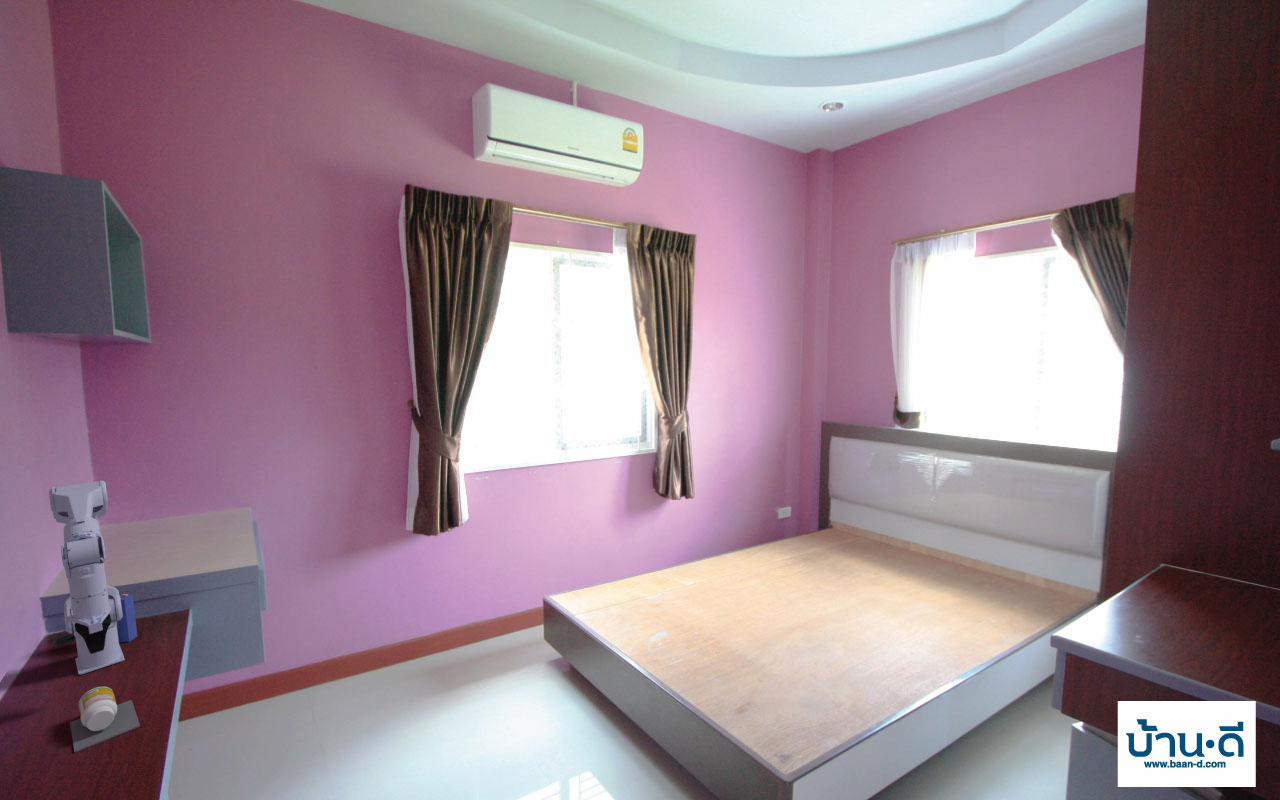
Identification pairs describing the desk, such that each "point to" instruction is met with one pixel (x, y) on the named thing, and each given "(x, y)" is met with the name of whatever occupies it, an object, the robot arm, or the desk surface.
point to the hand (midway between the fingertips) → (96, 651)
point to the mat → (120, 725)
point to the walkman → (127, 620)
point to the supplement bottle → (97, 708)
